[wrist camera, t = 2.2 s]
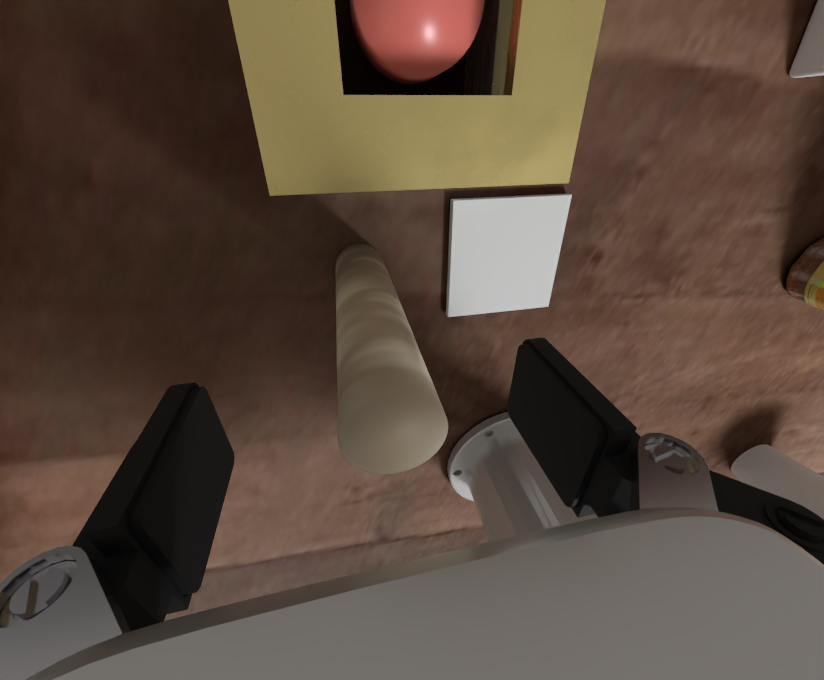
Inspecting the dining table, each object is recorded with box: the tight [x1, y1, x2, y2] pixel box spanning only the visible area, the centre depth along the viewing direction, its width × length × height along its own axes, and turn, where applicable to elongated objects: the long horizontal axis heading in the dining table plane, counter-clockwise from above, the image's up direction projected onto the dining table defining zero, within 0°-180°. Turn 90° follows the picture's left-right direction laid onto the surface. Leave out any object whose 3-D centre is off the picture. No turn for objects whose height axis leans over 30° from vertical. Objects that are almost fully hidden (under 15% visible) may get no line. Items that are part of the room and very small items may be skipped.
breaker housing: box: [228, 0, 606, 196], centre depth 14 cm, size 13×13×7 cm
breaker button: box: [350, 0, 485, 84], centre depth 14 cm, size 5×5×2 cm
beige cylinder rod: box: [335, 244, 448, 474], centre depth 16 cm, size 3×3×15 cm
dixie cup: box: [731, 444, 824, 520], centre depth 42 cm, size 8×8×10 cm
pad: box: [446, 194, 572, 317], centre depth 24 cm, size 8×8×1 cm
